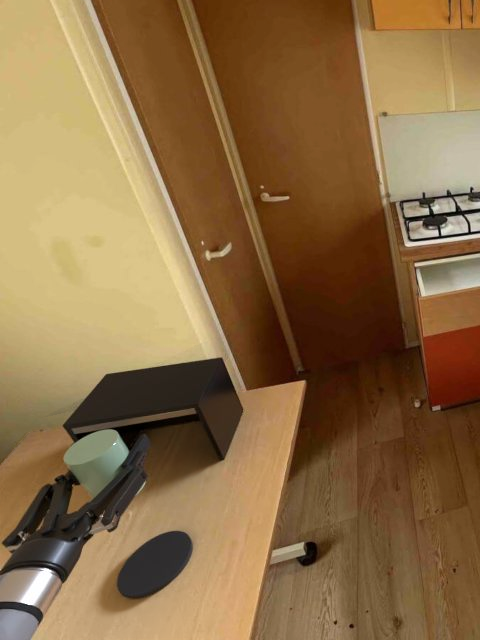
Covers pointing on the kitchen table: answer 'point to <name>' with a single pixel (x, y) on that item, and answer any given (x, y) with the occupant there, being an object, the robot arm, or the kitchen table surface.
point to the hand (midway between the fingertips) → (121, 444)
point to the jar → (97, 460)
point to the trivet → (155, 564)
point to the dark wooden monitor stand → (162, 402)
